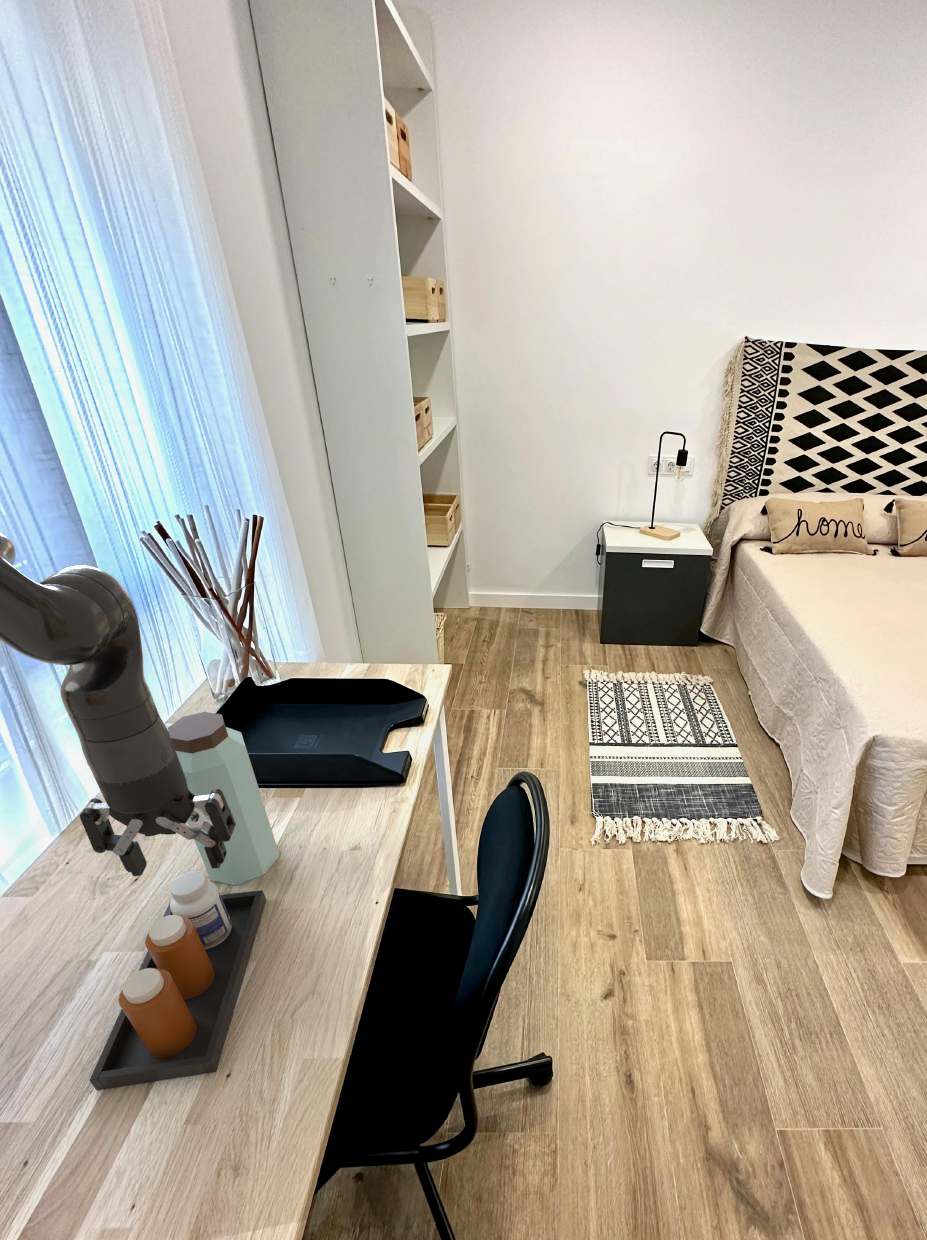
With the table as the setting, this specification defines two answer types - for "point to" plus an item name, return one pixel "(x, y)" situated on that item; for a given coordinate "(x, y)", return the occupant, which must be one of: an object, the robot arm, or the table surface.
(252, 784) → the water bottle
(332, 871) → the table surface
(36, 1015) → the table surface
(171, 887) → the pill bottle
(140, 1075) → the tray
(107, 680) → the robot arm
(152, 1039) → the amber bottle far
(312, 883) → the table surface
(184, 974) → the amber bottle mid
